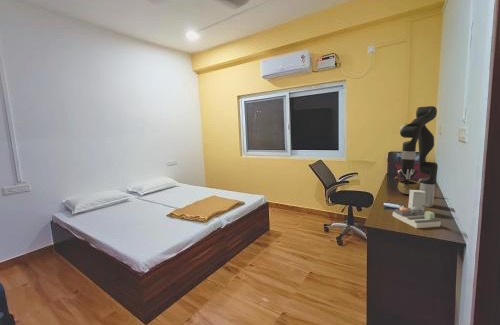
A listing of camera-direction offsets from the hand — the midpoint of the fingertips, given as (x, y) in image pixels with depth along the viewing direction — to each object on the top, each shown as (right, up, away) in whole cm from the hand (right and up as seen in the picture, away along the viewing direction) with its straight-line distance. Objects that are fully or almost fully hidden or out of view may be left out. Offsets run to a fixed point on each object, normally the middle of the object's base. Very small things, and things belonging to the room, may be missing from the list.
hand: (406, 184), depth 156 cm
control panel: (+5, -23, -1) cm, 24 cm away
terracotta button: (0, -18, +3) cm, 18 cm away
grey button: (+8, -18, +4) cm, 20 cm away
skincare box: (+18, -21, +17) cm, 32 cm away
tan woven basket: (+39, -14, +58) cm, 72 cm away
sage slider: (+10, -21, -7) cm, 24 cm away
